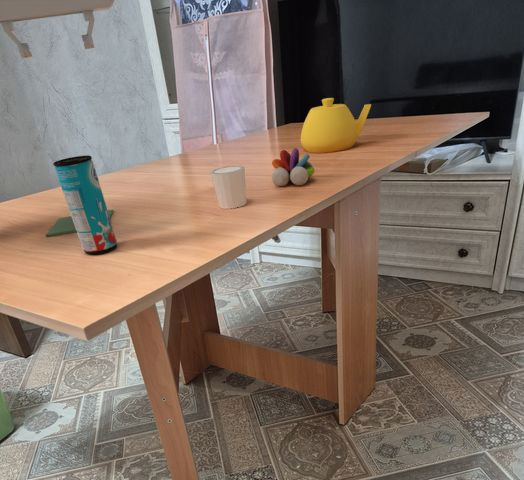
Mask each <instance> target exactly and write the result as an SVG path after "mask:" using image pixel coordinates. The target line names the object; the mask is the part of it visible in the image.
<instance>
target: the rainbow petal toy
mask: <svg viewBox="0 0 524 480" xmlns="http://www.w3.org/2000/svg"><path fill="white" fill-rule="evenodd" d="M310 157H311V156H310V154H308V153H306V154H305V155H304V156H303V157H302V158H301V159H300V150H299V149H298V148H296V147H294V148H293V149H292V150H291V153H289V151H287V150H286V149H282V150H281V151H280V153H279V158H280V159H279V158H275V159H273V160H272V161H271V162H272V163H271V166H273V168H274V169H273V171H272V173H271V180H272V183H273V184H274V185H275V186H277V187H285V186H286V185H288V183H289V181H291V183H293V185H295V186H303V185H305V184H306V183H307V182H308V180H309V179H311V177H312V176H313V175H314V174H315V171H316V170H315V167H314V166H313V163H312V162H310V161H309V159H310Z"/></svg>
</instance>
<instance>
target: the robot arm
mask: <svg viewBox="0 0 524 480" xmlns="http://www.w3.org/2000/svg"><path fill="white" fill-rule="evenodd" d="M113 5H114V0H0V25H1V27H2V29H3V32H4V33H5V34H6V35H7V37H9V38H10V39H11V40H12V41H13V43H14V44H16V45H17V49H18V52H19V54H20V57H21V58H22V59H29V58H33V54H32V53H33V52H32V51H30V50H31V48H30V44H29V43H28V42H22V41H21V40H20V39H19V38H18V37H17V36H16V35H15V34H14V32H16V29H15V25H14V23H17V22H22V21H23V22H25V21H32V20H39V19H46V18H55V17H62V16H70V15H76V14H77V15H78V14H82V15H83V18H84V22H88V24H87V30H86V34H81V40H82V42H83V46H84V49H85V50H89V49H95V43H94V40H93V36H92V34H93V30H94V29H93V28H94V25H95V16H94V12H103V11H108V10H110V9H111V8H112V7H113Z"/></svg>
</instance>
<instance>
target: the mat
mask: <svg viewBox="0 0 524 480" xmlns="http://www.w3.org/2000/svg"><path fill="white" fill-rule="evenodd" d="M107 210H108V214H109V217H110V219H112V215H113V214H114V209H113V208H112V209H111V208H110V209H107ZM73 233H77V231H76V228H75V225H74V222H73V219H72V216H71V215H70V216H69V215H68V216H63V217H58V219H56V221H55V222H54V223H53V225H52V226H51V227H50V228H49V230H48V231H47V232H46V233H45V237H46V238H50V237H56V236H61V235H68V234H73Z"/></svg>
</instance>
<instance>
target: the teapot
mask: <svg viewBox="0 0 524 480" xmlns="http://www.w3.org/2000/svg"><path fill="white" fill-rule="evenodd" d="M334 100H335V98H334V97H327V98H323V99H321V103H322V105H319V106H315V107H311V108H310V110H309V111H308V113H307V116H306V117H305V120H304V122H303V125H302V128H301V133H300V144H301V146H302V148H303V149H304V150H305V151H306V152H307V153H312V154H313V153H314V154H323V153H333V152H334V153H335V152H340V151H344V150H348V149H351V148H352V147H354V145H355V144H356V143H357V141H358V139H359V137H360V136H361V133H362V131H363V128H364V125H365V122H366V120H367V117H368V115H369V113H370V110H371V107H372V104H371V103H368V104H364V106H363V108H362V110H361V112H360V115H359V116H358V118H357V120H355V117H354V116H353V114H352V112H351V111H350V108H349V107H348V106H347V105H346V104H345V103H335V104H333V103H334Z"/></svg>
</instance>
